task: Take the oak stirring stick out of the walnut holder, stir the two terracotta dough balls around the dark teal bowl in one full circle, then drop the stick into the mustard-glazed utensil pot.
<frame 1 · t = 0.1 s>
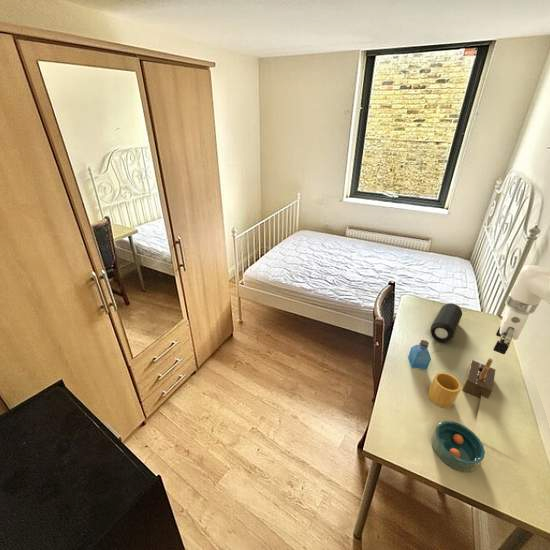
hand: (499, 344, 100), 26 cm above the table, tool pointing down, fingers open, 9 cm apart
bowl: (454, 450, 94), on the table
holder: (476, 385, 117), on the table
portable speaker: (443, 329, 148), on the table
dough ball a: (454, 453, 91), point 2 cm above the table, touching bowl
dough ball b: (458, 439, 95), point 2 cm above the table, touching bowl
perfume bottle: (417, 363, 127), on the table
stirring stick: (475, 389, 116), resting in holder
utensil pot: (440, 397, 112), on the table
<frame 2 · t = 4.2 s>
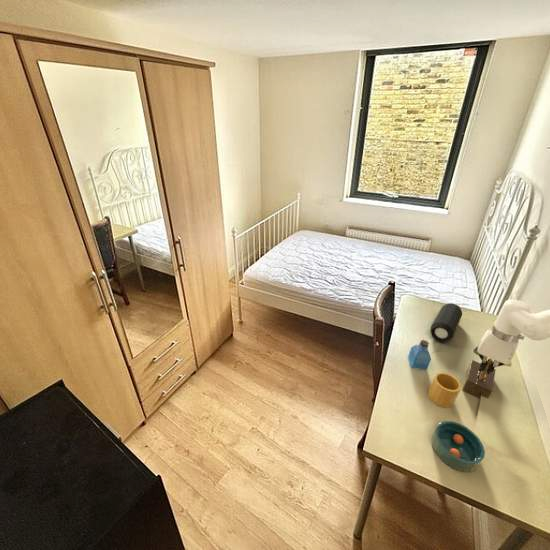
hand: (485, 370, 110), 11 cm above the table, tool pointing down, fingers closed on stirring stick, 1 cm apart
stirring stick: (475, 389, 116), resting in holder, touching gripper
everything else where it was.
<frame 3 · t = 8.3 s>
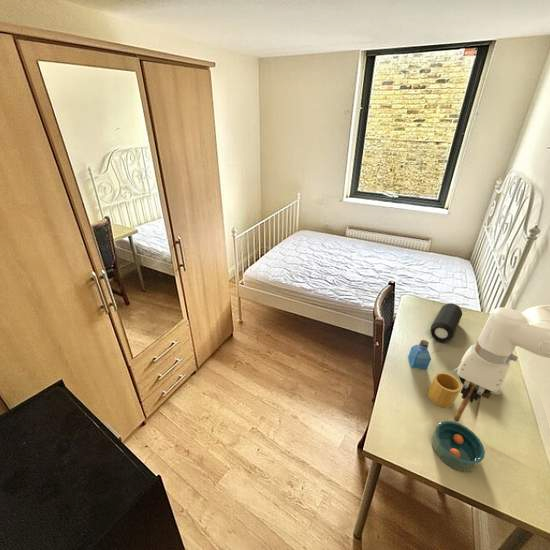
hand: (467, 397, 86), 22 cm above the table, tool pointing down, fingers closed on stirring stick, 1 cm apart
stirring stick: (455, 419, 91), point 11 cm above the table, touching gripper
everything else where it was.
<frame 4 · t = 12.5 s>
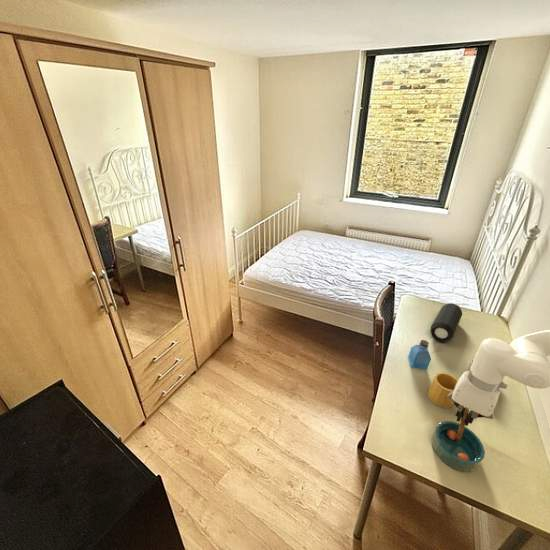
hand: (462, 420, 90), 12 cm above the table, tool pointing down, fingers closed on stirring stick, 1 cm apart
dough ball a: (462, 458, 90), point 2 cm above the table, tilted 41°, touching bowl
dough ball b: (451, 434, 97), point 2 cm above the table, tilted 48°, touching bowl, stirring stick
stirring stick: (457, 441, 95), point 1 cm above the table, tilted 8°, touching dough ball b, gripper
everything else where it was.
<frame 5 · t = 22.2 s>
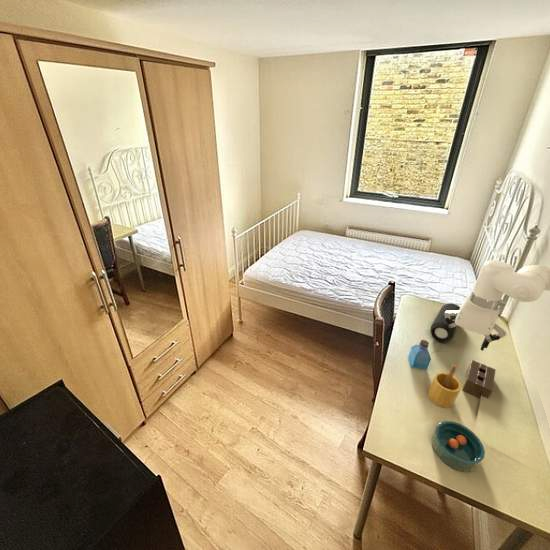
hand: (465, 341, 98), 28 cm above the table, tool pointing down, fingers open, 9 cm apart
dough ball a: (453, 443, 94), point 2 cm above the table, tilted 157°, touching bowl
dough ball b: (461, 440, 95), point 2 cm above the table, tilted 44°, touching bowl
stirring stick: (441, 395, 112), point 1 cm above the table, touching utensil pot
everything else where it was.
at the end: dough ball a moved 3.5 cm from its start; dough ball a inside the target area in the bowl (1.2 cm from its centre), point 2.1 cm above the bowl's base; stirring stick inside the target area in the utensil pot (0.7 cm from its centre), point 0.6 cm above the utensil pot's base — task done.
